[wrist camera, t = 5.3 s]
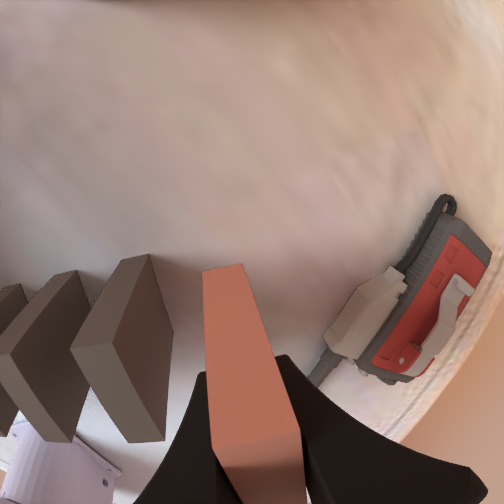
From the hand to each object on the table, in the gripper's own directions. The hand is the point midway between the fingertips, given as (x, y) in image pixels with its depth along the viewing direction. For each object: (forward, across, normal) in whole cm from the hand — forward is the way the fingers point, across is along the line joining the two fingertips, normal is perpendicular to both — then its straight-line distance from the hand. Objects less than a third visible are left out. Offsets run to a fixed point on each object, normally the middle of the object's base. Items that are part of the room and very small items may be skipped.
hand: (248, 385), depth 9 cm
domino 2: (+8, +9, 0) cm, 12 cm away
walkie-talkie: (+9, -10, +6) cm, 15 cm away
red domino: (+4, 0, 0) cm, 4 cm away
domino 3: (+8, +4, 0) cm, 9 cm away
